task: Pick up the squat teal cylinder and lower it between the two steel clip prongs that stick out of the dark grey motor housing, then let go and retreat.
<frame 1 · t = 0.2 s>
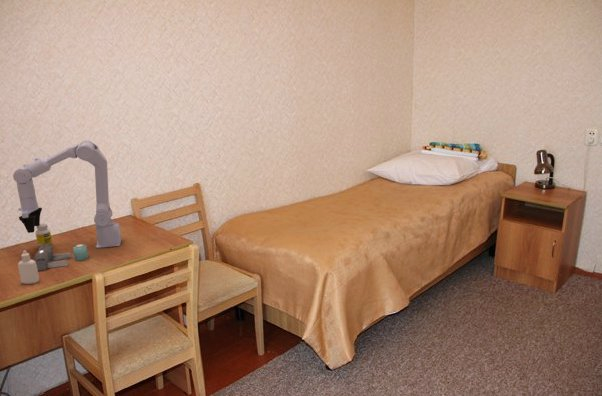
hand: (33, 229, 189), 10 cm above the table, tool pointing down, fingers open, 7 cm apart
supplement bottle: (45, 247, 197), on the table
teal cylinder: (81, 258, 185), on the table
eye dropper bottle: (30, 282, 166), on the table
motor: (45, 264, 180), on the table
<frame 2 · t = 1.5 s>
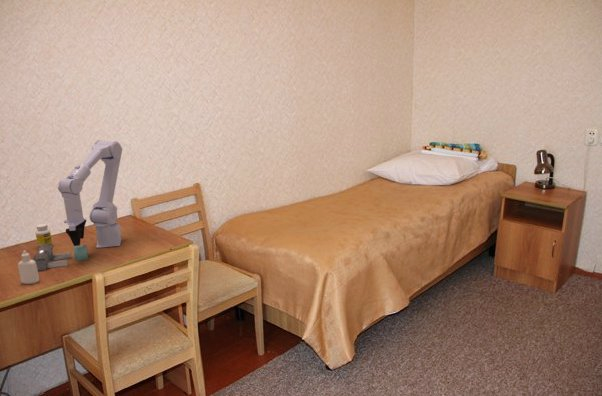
hand: (78, 241, 183), 7 cm above the table, tool pointing down, fingers open, 7 cm apart
nothing on the table moved.
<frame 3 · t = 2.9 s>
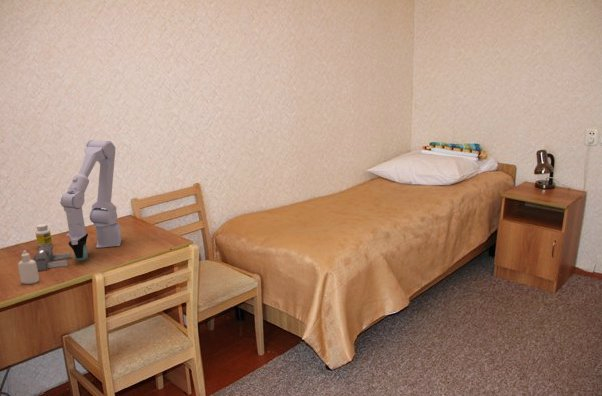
hand: (81, 255, 185), 1 cm above the table, tool pointing down, fingers closed on teal cylinder, 5 cm apart
teal cylinder: (81, 258, 185), on the table, touching gripper
everything else where it was.
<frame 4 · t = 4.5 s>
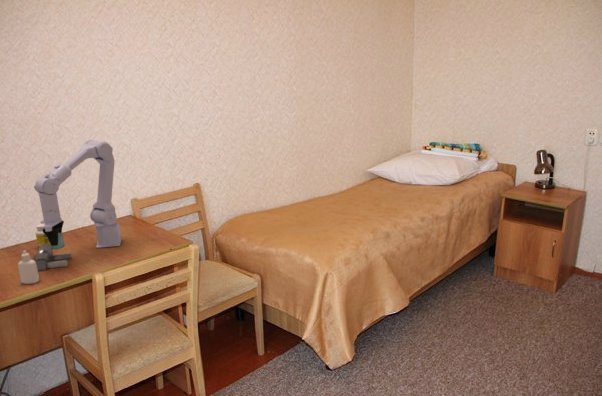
hand: (56, 242, 179), 8 cm above the table, tool pointing down, fingers closed on teal cylinder, 5 cm apart
teal cylinder: (57, 247, 180), point 6 cm above the table, touching gripper
everything else where it was.
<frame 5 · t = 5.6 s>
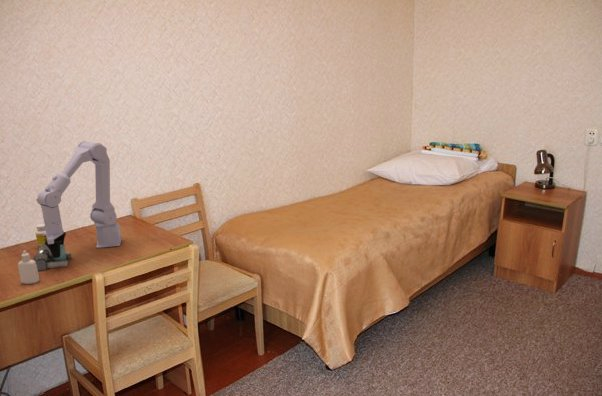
hand: (58, 254, 180), 3 cm above the table, tool pointing down, fingers closed on teal cylinder, 5 cm apart
teal cylinder: (59, 258, 181), point 2 cm above the table, touching gripper
everything else where it was.
when the fingers open (3 cm above the table, at t = 6.2 s): teal cylinder drops 2 cm, on the table.
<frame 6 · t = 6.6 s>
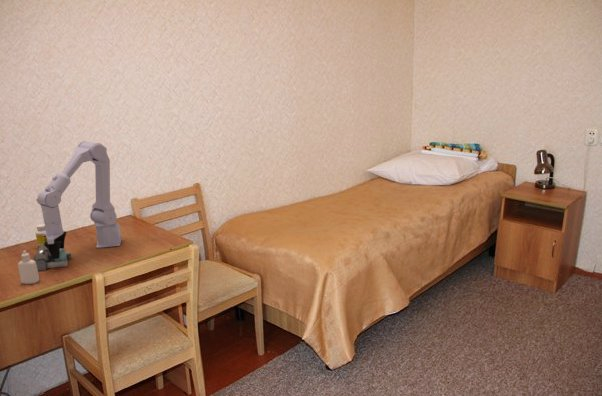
hand: (58, 254, 180), 3 cm above the table, tool pointing down, fingers open, 7 cm apart
teal cylinder: (60, 262, 182), on the table
everything else where it was.
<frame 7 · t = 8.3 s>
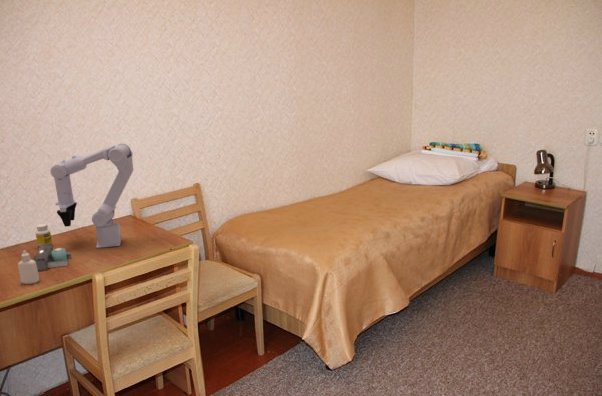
hand: (69, 223, 195), 10 cm above the table, tool pointing down, fingers open, 7 cm apart
nothing on the table moved.
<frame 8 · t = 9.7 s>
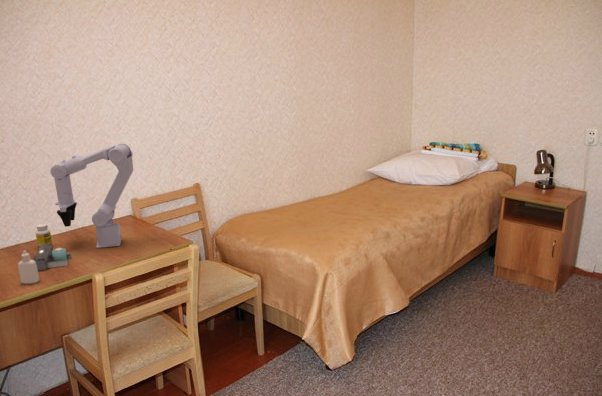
hand: (69, 223, 196), 10 cm above the table, tool pointing down, fingers open, 7 cm apart
nothing on the table moved.
at the end: teal cylinder 0.5 cm from the target spot, on the table; teal cylinder tilted 1°; the gripper is holding nothing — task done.
